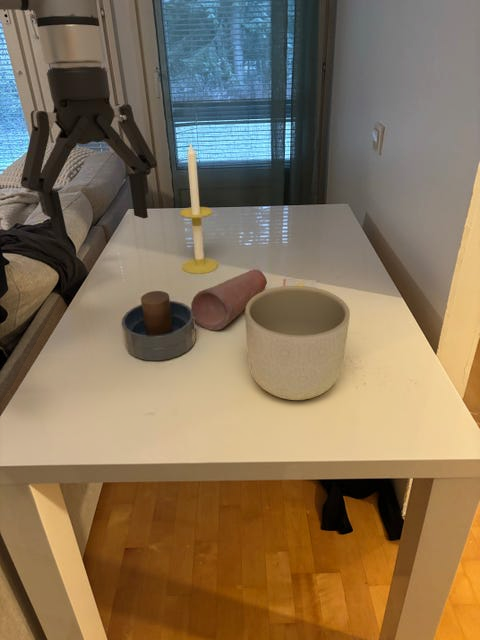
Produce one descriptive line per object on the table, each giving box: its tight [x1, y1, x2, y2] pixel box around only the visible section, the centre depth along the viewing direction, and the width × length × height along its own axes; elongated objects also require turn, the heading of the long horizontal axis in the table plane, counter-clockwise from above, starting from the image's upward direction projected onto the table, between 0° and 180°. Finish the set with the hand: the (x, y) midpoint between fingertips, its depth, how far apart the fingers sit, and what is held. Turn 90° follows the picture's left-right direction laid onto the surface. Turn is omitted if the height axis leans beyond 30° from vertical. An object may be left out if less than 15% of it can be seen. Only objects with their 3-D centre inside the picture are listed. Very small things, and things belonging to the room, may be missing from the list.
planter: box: [244, 285, 351, 401], centre depth 80 cm, size 17×17×15 cm
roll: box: [140, 290, 173, 336], centre depth 93 cm, size 6×6×10 cm
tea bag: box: [282, 278, 317, 288], centre depth 100 cm, size 4×7×10 cm, turn 79°
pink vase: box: [190, 269, 268, 331], centre depth 105 cm, size 21×9×9 cm, turn 152°
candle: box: [179, 141, 219, 275], centre depth 120 cm, size 10×10×32 cm
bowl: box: [121, 300, 196, 361], centre depth 95 cm, size 14×14×6 cm
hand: (103, 226), depth 70 cm, fingers open, 13 cm apart
